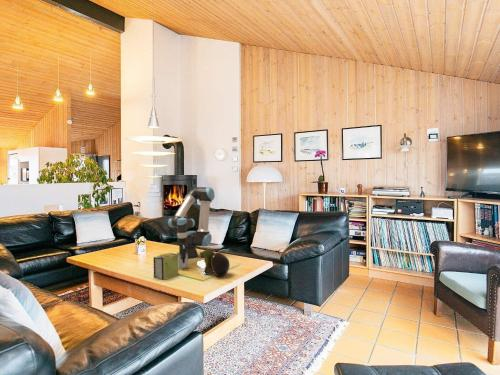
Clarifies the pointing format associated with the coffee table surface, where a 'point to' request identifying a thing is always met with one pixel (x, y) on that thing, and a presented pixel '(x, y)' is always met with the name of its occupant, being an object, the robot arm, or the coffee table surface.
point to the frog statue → (215, 262)
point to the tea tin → (181, 261)
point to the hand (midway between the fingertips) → (182, 265)
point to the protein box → (165, 266)
